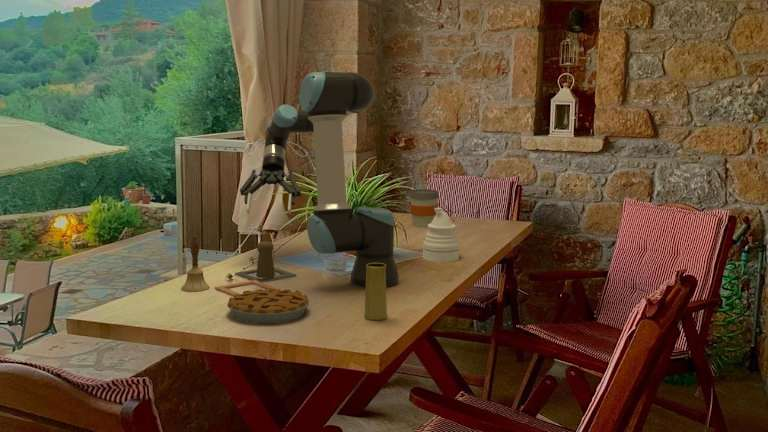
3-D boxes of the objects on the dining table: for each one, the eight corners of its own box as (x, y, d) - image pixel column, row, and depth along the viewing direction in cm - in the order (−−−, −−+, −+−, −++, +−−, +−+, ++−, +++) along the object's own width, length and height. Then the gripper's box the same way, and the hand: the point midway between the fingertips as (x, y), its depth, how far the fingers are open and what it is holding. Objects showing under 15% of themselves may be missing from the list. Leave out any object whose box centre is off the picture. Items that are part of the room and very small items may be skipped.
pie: (240, 301, 229) (240, 284, 228) (316, 304, 226) (316, 287, 226) (216, 324, 207) (216, 305, 206) (300, 327, 205) (300, 308, 204)
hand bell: (214, 286, 244) (213, 234, 241) (200, 293, 236) (198, 239, 233) (191, 283, 246) (189, 232, 244) (175, 290, 239) (173, 237, 236)
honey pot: (440, 263, 278) (442, 212, 275) (415, 257, 287) (416, 207, 284) (466, 258, 286) (467, 208, 283) (440, 252, 295) (441, 203, 292)
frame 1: (280, 291, 239) (280, 289, 239) (239, 298, 230) (239, 296, 230) (255, 281, 250) (255, 279, 249) (214, 289, 240) (214, 287, 240)
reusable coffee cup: (442, 224, 352) (442, 190, 350) (431, 229, 341) (432, 194, 338) (415, 222, 357) (416, 188, 355) (404, 226, 346) (405, 192, 343)
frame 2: (296, 276, 257) (296, 274, 257) (258, 283, 248) (258, 281, 248) (272, 268, 268) (272, 266, 267) (235, 274, 258) (235, 272, 258)
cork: (271, 278, 254) (271, 244, 252) (253, 277, 255) (252, 243, 254) (277, 273, 260) (277, 240, 258) (260, 272, 261) (259, 239, 259)
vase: (363, 314, 217) (363, 262, 214) (386, 313, 217) (386, 262, 215) (364, 320, 211) (365, 267, 208) (388, 320, 211) (388, 267, 209)
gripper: (310, 168, 281) (307, 218, 269) (239, 167, 281) (232, 217, 269) (309, 154, 275) (305, 205, 263) (236, 153, 274) (229, 204, 262)
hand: (268, 211), depth 266 cm, fingers open, 13 cm apart
